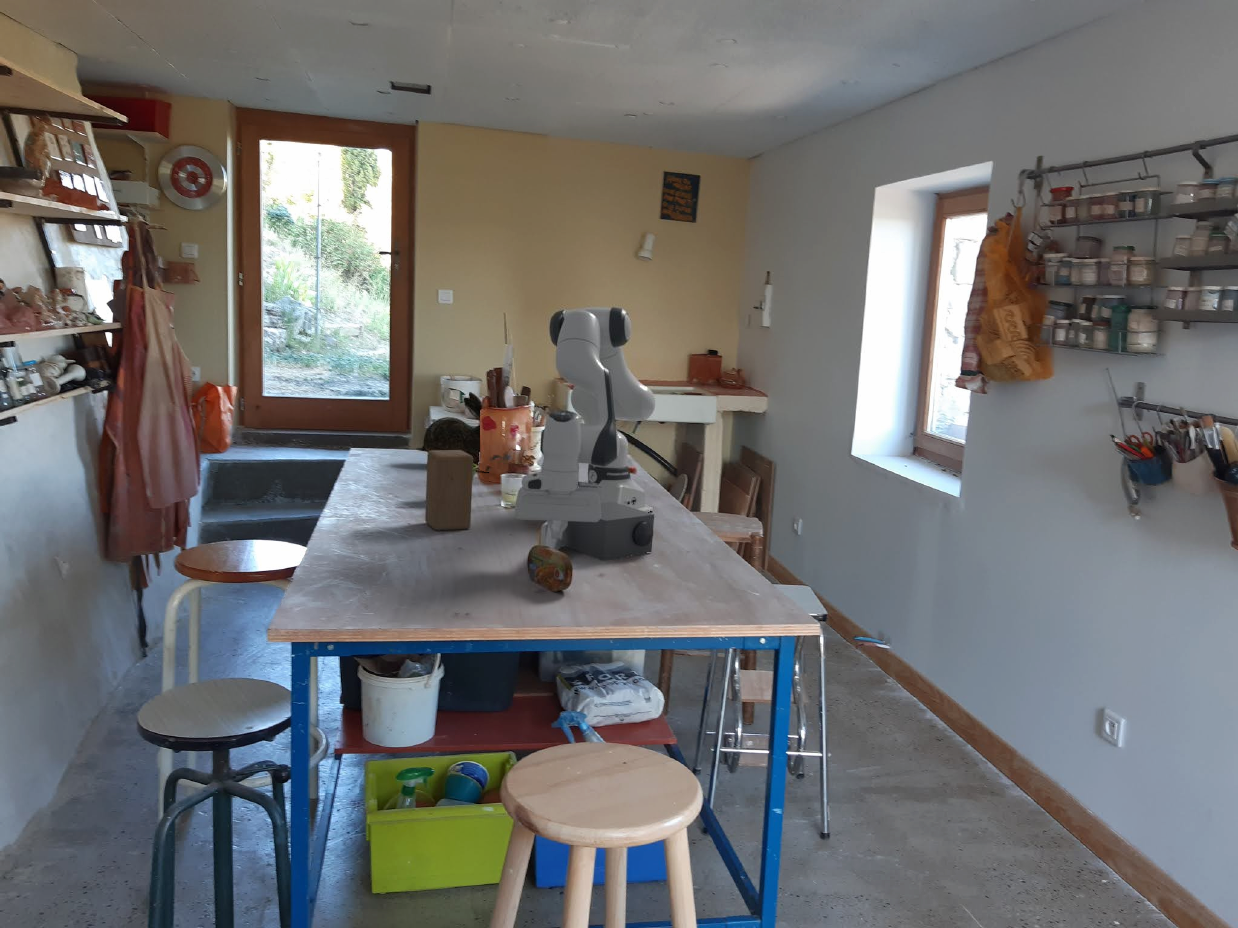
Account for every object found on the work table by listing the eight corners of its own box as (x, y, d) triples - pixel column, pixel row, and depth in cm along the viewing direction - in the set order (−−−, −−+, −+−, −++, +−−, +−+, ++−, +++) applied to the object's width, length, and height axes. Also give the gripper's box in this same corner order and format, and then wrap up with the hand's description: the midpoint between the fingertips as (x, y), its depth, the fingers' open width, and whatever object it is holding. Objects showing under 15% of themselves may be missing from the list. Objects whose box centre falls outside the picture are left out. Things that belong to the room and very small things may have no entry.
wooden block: (434, 531, 247) (437, 456, 244) (424, 522, 256) (426, 449, 253) (471, 529, 252) (474, 455, 249) (459, 521, 261) (462, 449, 257)
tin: (525, 577, 213) (527, 541, 211) (537, 576, 214) (539, 539, 213) (561, 596, 201) (563, 558, 199) (573, 594, 203) (576, 556, 201)
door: (563, 544, 241) (565, 510, 239) (543, 563, 223) (545, 526, 221) (557, 544, 241) (559, 509, 240) (537, 562, 223) (539, 525, 222)
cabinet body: (610, 538, 253) (613, 501, 251) (654, 553, 240) (657, 515, 239) (563, 545, 242) (565, 507, 241) (606, 561, 230) (609, 521, 228)
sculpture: (473, 477, 323) (477, 397, 319) (412, 465, 339) (415, 388, 334) (509, 471, 339) (513, 395, 335) (449, 459, 355) (452, 386, 350)
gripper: (602, 480, 225) (598, 536, 228) (516, 476, 223) (513, 533, 225) (605, 485, 219) (601, 543, 222) (516, 481, 217) (513, 540, 219)
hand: (556, 538), depth 223 cm, fingers closed
